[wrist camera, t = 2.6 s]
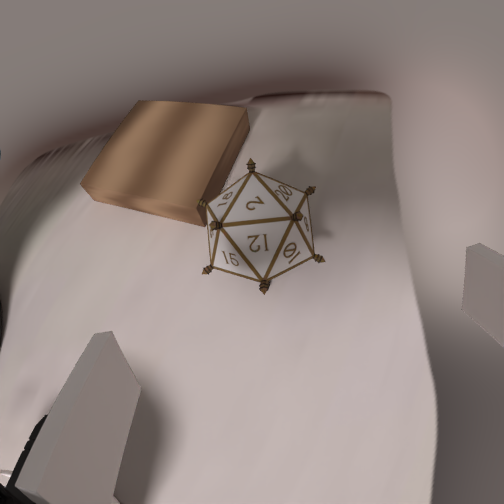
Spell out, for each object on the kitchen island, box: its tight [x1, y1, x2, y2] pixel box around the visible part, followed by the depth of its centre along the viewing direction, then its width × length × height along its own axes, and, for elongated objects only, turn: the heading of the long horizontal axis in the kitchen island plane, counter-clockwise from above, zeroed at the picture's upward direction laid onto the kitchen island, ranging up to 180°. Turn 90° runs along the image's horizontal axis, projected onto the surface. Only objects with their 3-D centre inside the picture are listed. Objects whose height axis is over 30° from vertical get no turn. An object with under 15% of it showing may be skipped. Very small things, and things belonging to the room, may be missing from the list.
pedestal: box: [80, 101, 250, 227], centre depth 29 cm, size 13×12×3 cm
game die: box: [196, 158, 326, 295], centre depth 22 cm, size 9×8×10 cm
